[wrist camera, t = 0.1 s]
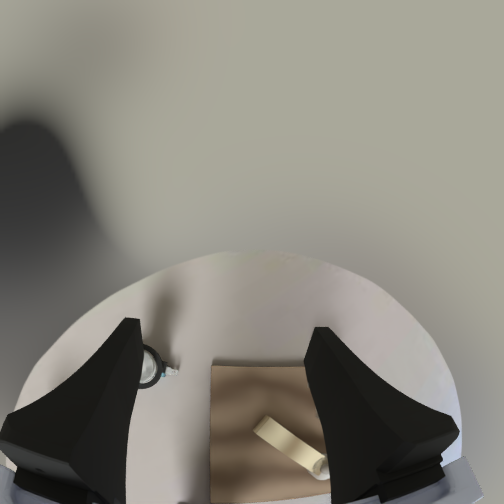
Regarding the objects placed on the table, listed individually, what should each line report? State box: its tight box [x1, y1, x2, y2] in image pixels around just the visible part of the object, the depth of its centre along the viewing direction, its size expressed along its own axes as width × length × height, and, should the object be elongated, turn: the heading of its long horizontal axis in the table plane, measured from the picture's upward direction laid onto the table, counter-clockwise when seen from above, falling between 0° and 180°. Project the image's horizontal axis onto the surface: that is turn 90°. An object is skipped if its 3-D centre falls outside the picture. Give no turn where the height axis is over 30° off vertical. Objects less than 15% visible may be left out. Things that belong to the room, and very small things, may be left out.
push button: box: [138, 344, 178, 389], centre depth 35 cm, size 7×5×10 cm
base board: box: [210, 365, 331, 503], centre depth 38 cm, size 22×20×1 cm
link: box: [253, 415, 330, 480], centre depth 36 cm, size 14×4×3 cm, turn 49°
